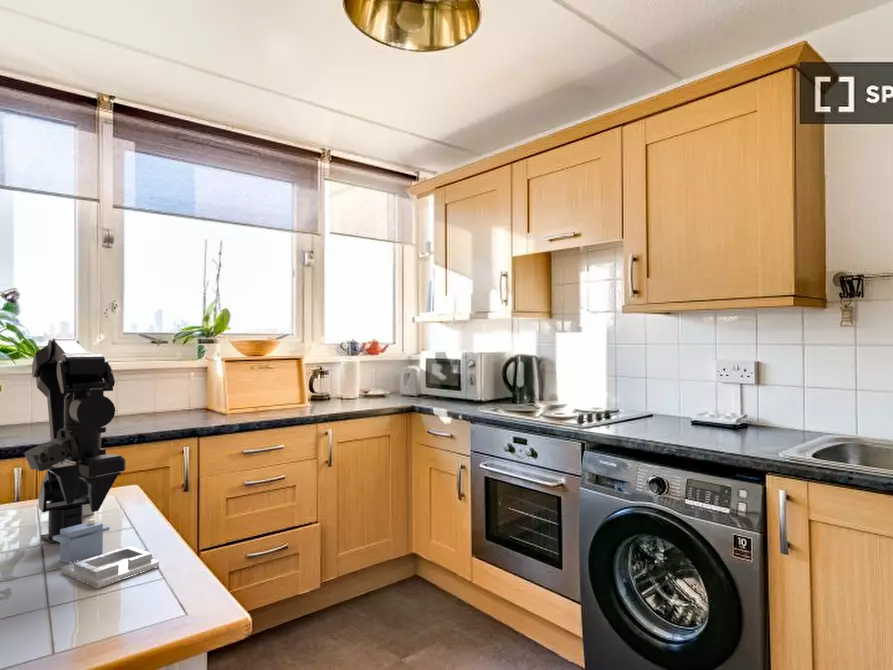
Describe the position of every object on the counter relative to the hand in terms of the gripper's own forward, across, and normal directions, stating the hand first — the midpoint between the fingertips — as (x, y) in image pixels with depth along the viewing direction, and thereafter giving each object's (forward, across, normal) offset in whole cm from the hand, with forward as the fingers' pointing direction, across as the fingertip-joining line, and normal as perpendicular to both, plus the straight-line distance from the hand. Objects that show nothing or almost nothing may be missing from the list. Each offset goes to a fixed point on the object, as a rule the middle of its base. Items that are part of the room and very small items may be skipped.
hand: (81, 507), depth 101 cm
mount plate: (+9, +11, -1) cm, 14 cm away
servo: (+9, 0, 0) cm, 9 cm away
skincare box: (+9, -28, +12) cm, 32 cm away
